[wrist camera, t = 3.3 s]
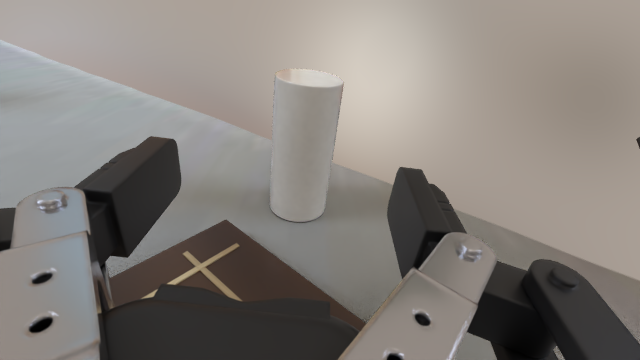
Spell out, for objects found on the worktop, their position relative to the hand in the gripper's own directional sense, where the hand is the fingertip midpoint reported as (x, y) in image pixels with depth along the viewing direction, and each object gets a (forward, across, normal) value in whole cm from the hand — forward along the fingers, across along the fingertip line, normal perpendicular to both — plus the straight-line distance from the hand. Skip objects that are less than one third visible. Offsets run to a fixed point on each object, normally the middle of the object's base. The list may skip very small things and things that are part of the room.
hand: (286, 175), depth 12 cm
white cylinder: (+11, 0, +9) cm, 14 cm away
